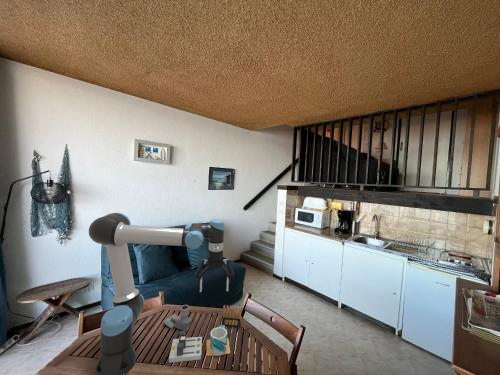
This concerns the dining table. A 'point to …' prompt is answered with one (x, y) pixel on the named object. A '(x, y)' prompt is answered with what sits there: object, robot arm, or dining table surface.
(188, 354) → the breaker panel
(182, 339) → the breaker
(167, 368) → the dining table surface
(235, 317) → the ammunition clip
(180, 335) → the breaker
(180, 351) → the block
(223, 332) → the mug
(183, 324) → the camera
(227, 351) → the pad
